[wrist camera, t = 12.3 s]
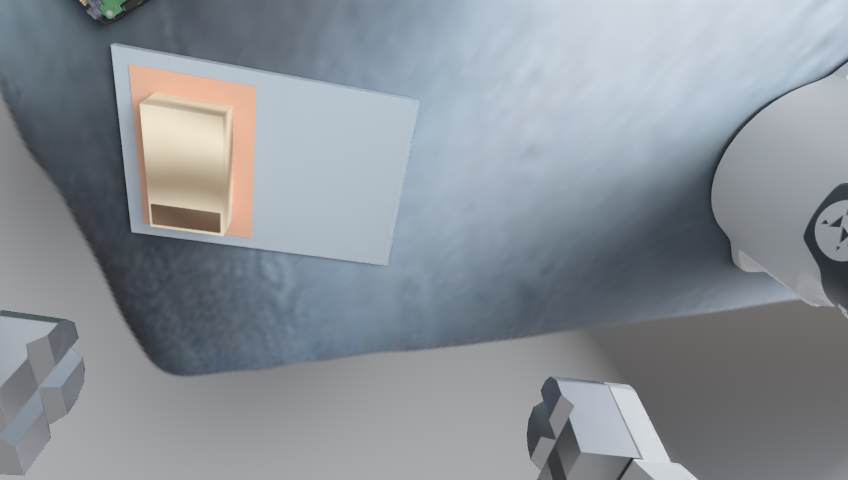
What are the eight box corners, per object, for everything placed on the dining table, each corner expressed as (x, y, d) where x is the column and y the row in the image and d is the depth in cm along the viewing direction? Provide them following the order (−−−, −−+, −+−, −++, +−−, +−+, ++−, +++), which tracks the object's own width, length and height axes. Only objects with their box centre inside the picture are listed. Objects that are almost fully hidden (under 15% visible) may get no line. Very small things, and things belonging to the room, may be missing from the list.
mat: (419, 99, 36) (419, 101, 35) (387, 261, 43) (387, 266, 42) (115, 43, 33) (110, 45, 32) (134, 228, 40) (130, 232, 39)
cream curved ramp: (155, 92, 34) (138, 103, 32) (233, 105, 34) (222, 117, 32) (163, 209, 38) (150, 227, 36) (232, 219, 39) (223, 236, 37)
